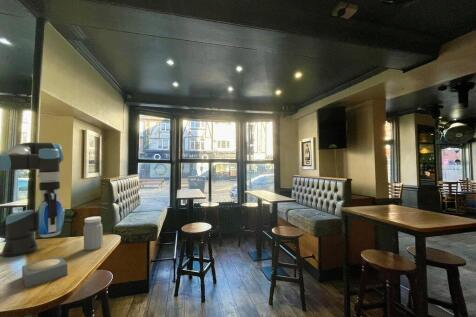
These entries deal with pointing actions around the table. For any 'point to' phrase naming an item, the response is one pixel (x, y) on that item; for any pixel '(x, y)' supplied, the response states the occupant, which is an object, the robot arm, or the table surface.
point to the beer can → (43, 219)
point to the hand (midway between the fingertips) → (50, 230)
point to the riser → (43, 271)
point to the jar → (93, 233)
